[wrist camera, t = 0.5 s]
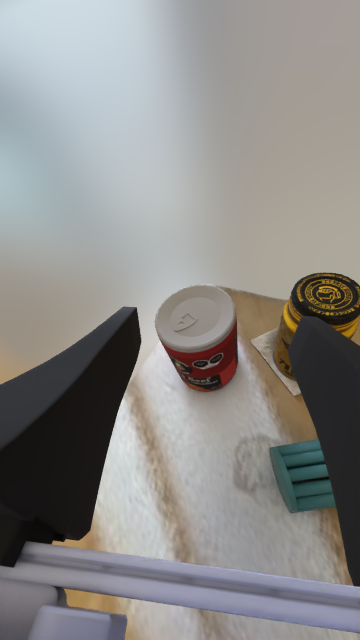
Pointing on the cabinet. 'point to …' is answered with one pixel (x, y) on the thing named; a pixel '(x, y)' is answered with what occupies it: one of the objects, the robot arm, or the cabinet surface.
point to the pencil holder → (302, 476)
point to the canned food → (200, 335)
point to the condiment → (313, 301)
